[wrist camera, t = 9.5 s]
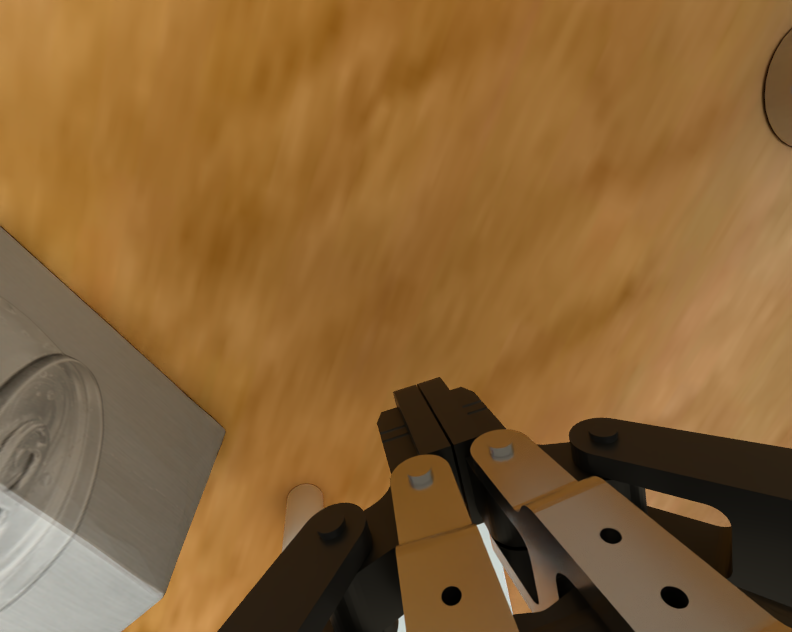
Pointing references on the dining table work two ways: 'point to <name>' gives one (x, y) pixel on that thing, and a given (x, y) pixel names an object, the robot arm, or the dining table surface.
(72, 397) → the soda pack
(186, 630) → the dining table surface
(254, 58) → the dining table surface
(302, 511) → the post
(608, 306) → the dining table surface
